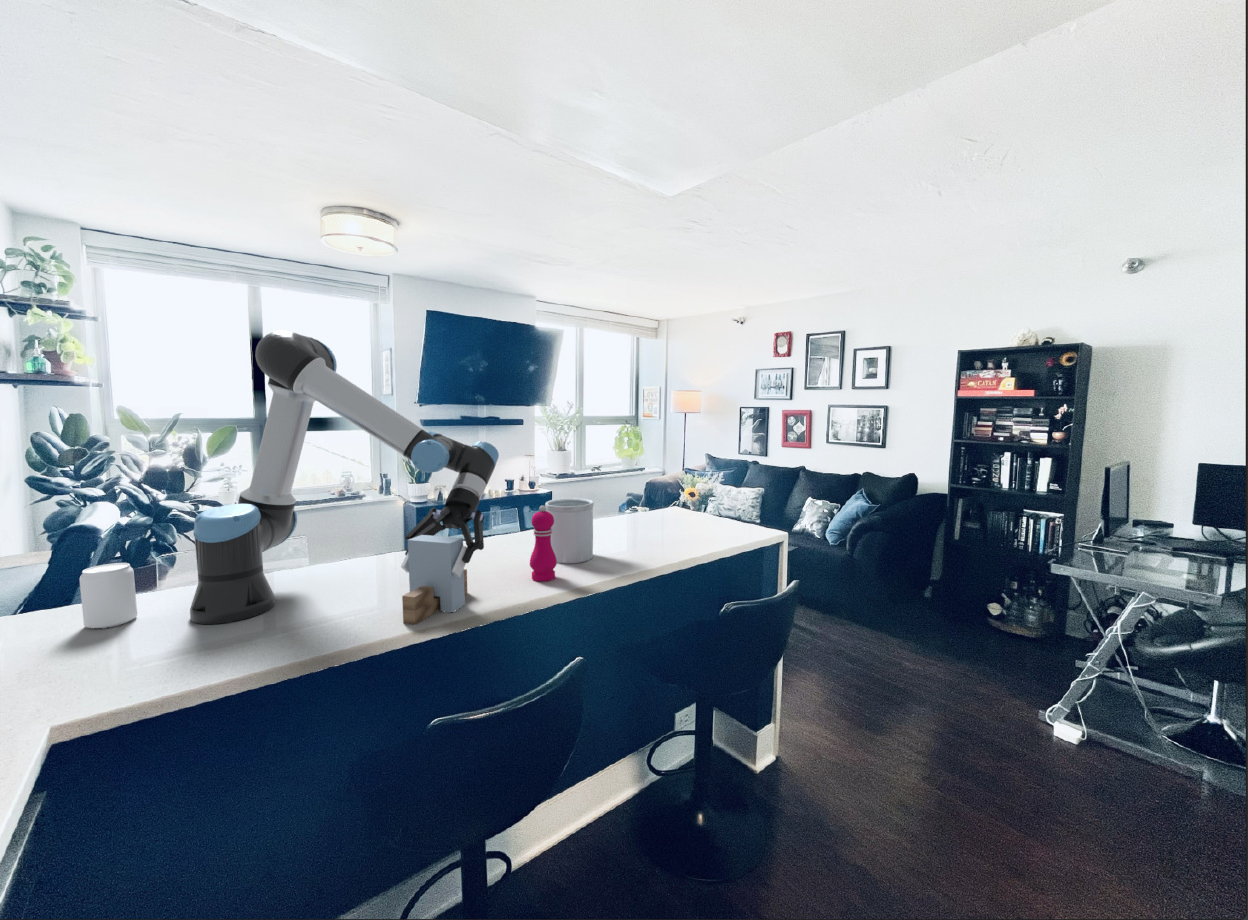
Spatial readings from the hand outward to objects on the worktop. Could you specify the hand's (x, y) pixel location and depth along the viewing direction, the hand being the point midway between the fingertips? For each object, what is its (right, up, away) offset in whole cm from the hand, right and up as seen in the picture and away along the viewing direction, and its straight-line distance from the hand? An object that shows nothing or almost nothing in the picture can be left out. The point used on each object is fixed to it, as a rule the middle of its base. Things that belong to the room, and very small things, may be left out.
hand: (429, 572), depth 117 cm
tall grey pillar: (+1, -9, +3) cm, 9 cm away
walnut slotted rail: (+1, -9, +3) cm, 9 cm away
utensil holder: (+27, -5, +44) cm, 52 cm away
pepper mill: (+22, -7, +24) cm, 33 cm away
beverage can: (-65, -10, -6) cm, 66 cm away
